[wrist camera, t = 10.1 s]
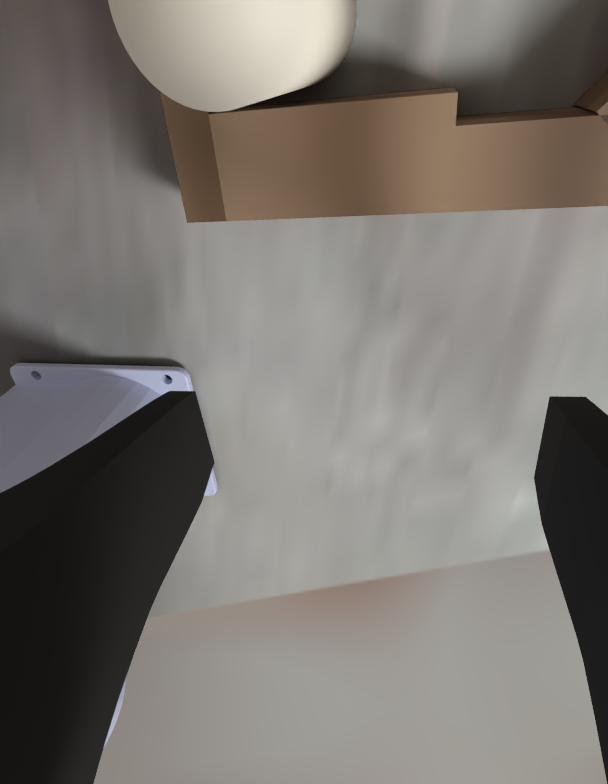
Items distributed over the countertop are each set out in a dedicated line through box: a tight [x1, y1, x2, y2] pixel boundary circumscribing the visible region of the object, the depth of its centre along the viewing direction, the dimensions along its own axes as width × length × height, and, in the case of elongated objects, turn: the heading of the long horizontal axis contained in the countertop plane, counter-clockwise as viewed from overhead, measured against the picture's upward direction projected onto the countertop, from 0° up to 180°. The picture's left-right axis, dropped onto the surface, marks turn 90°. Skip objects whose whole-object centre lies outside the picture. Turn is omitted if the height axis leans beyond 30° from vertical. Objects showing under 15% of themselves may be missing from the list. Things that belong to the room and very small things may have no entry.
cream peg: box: [108, 0, 357, 112], centre depth 12 cm, size 4×4×8 cm
